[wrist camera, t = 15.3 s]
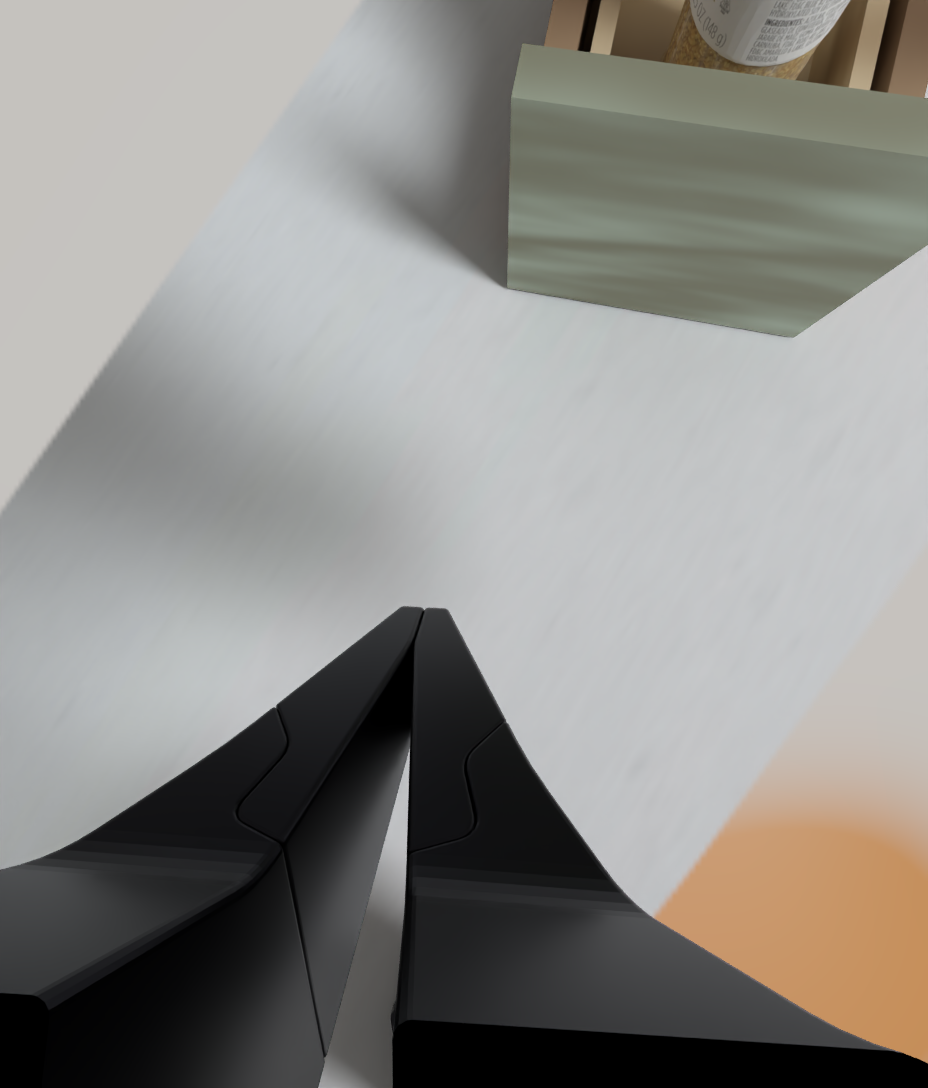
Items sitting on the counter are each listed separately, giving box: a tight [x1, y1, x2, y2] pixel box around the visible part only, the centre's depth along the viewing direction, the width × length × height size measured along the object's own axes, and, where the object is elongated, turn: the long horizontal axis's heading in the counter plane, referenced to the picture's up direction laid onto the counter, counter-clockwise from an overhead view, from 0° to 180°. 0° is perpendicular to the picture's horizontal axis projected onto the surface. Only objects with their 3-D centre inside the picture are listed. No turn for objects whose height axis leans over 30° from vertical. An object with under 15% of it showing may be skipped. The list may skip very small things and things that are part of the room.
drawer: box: [507, 0, 928, 338], centre depth 15 cm, size 12×11×8 cm
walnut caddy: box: [544, 0, 928, 98], centre depth 17 cm, size 12×11×4 cm
